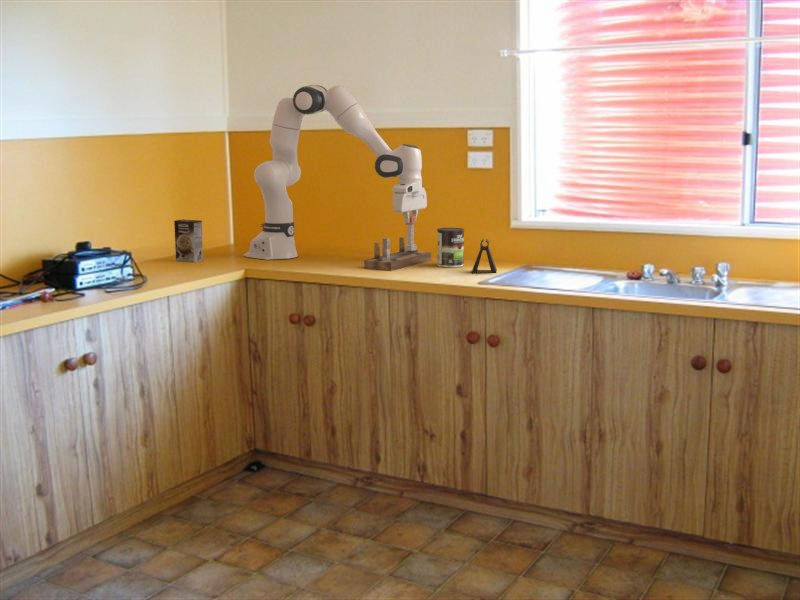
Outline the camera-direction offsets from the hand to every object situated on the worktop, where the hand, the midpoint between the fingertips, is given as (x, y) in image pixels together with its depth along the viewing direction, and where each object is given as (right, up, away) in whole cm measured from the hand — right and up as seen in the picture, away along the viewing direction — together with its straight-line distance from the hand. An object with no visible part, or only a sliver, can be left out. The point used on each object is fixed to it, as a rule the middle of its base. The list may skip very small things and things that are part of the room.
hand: (410, 222), depth 385 cm
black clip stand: (+27, -21, -24) cm, 41 cm away
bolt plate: (-5, -17, -5) cm, 18 cm away
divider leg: (0, -11, +2) cm, 11 cm away
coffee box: (-88, -15, +5) cm, 89 cm away
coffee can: (+15, -18, -8) cm, 25 cm away
